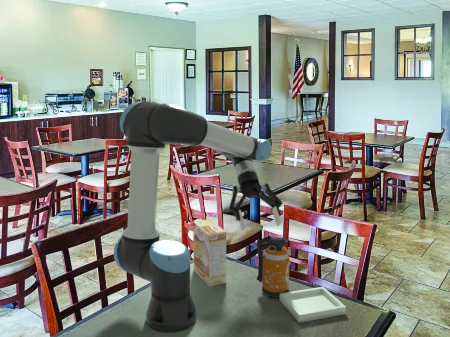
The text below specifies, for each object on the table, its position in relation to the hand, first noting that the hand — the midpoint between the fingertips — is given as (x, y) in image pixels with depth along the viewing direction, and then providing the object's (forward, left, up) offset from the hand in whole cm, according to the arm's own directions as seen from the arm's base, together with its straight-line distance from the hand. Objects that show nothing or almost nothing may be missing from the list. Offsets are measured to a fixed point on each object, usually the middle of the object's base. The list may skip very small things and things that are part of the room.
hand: (261, 226), depth 162 cm
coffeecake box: (-17, +7, -20) cm, 27 cm away
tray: (+8, -24, -20) cm, 32 cm away
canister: (0, -11, -20) cm, 23 cm away
